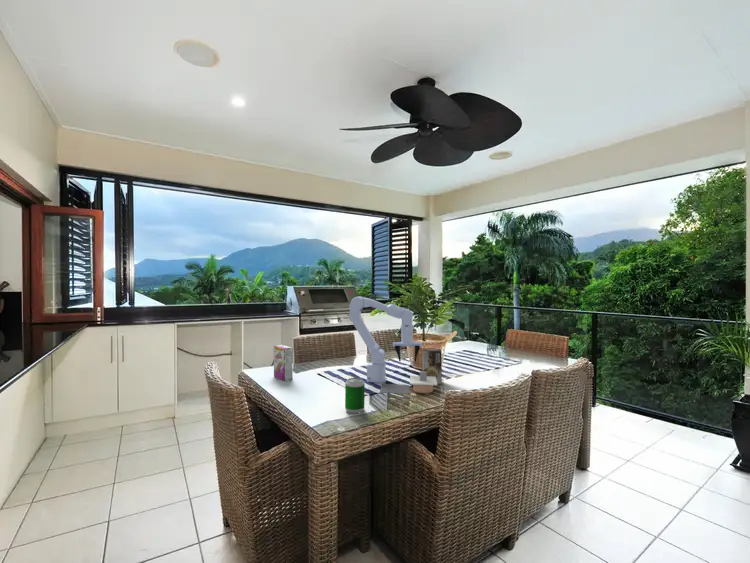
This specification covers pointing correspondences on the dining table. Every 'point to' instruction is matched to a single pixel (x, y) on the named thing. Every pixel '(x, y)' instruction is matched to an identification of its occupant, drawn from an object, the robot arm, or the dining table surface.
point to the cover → (423, 379)
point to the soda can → (354, 395)
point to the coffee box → (433, 363)
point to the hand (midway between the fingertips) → (407, 361)
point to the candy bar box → (283, 362)
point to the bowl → (423, 388)
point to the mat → (394, 388)
